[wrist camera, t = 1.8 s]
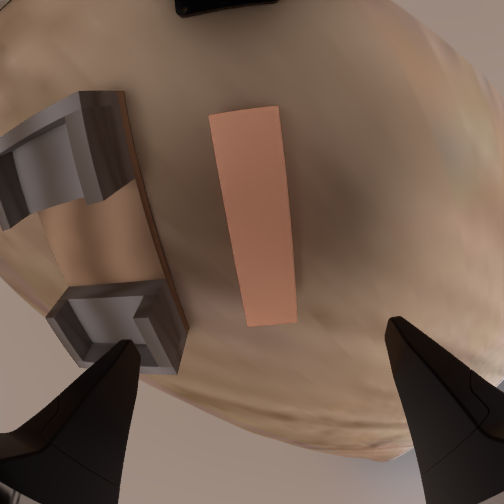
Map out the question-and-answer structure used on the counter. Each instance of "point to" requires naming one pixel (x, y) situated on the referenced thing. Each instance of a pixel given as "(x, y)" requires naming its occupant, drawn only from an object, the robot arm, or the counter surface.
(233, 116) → the rail
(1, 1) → the supplement box
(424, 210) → the counter surface
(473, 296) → the counter surface
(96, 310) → the bracket stand
